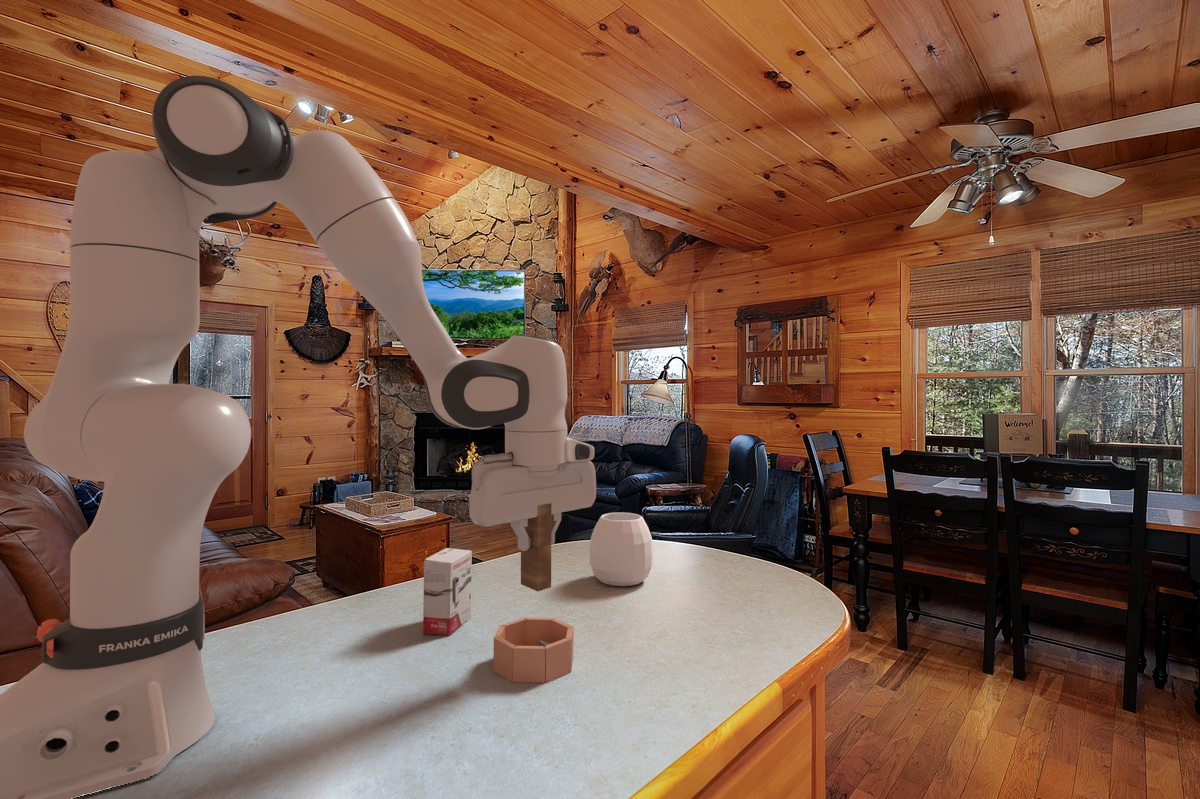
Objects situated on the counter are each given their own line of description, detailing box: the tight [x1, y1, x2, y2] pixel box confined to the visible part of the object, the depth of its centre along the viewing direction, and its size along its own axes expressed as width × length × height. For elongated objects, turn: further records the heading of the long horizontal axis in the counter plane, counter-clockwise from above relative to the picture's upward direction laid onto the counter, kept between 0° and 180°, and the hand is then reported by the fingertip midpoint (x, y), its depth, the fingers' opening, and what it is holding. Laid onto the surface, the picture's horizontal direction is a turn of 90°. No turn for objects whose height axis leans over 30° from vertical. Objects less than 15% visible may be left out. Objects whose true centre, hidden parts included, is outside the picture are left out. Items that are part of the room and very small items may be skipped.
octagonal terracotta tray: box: [493, 617, 575, 684], centre depth 82 cm, size 11×11×4 cm
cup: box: [589, 511, 654, 587], centre depth 120 cm, size 13×13×14 cm
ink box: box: [422, 547, 473, 636], centre depth 96 cm, size 9×5×12 cm, turn 168°
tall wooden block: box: [520, 503, 552, 592], centre depth 82 cm, size 2×4×12 cm, turn 44°
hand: (536, 546), depth 82 cm, fingers closed on tall wooden block, 2 cm apart
